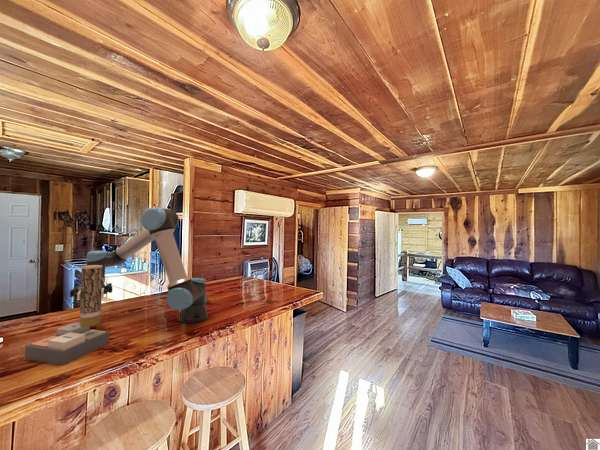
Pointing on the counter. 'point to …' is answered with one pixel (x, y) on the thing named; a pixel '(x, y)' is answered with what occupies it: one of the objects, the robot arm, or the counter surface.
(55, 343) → the key cream
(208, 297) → the cupcake
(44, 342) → the key terracotta
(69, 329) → the key slate
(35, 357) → the keypad
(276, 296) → the counter surface
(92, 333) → the key sage
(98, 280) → the brown bark-patterned cylinder
